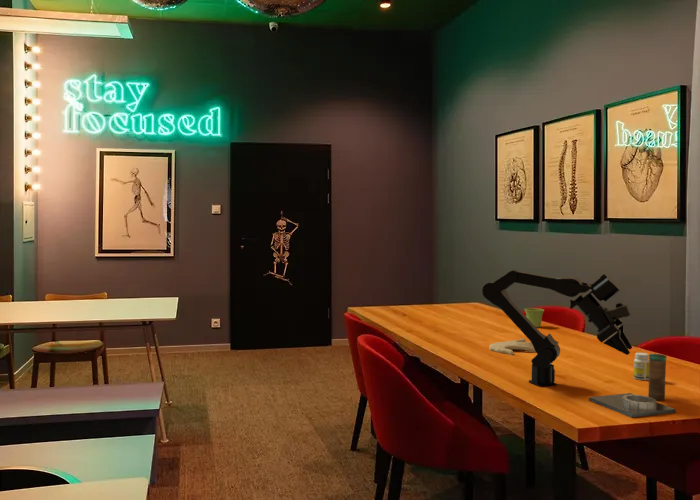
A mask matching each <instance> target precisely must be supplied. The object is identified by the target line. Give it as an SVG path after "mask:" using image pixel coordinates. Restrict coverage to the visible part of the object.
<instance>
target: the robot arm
mask: <svg viewBox="0 0 700 500" xmlns="http://www.w3.org/2000/svg"><path fill="white" fill-rule="evenodd" d="M515 283H516V284H521V285H527V286H531V287H538V288H541V289H542V288H543V289H546V290H547V289H548V290H551V291H553V292H556V293H559V294H560V295H562V296H566V297H568V298H569V297H570V298H572V299H570V300H569V301H570V302H569V303H570V305H569V308H570V310H571V309H573V308H575V307H576V306H577V308H578V309H579V310H580V311H581V312H582V313H583V315H584V316H585V317H586V318H587V319H588V320H587V321H588V322H589V323H590V324H592V325H593V326H594V327H595V328H596V329H597V333H596V339H597V340H598V341H599V342H600V343H601V344H602V343H603V344H604V345H606V346H609V347H610V348H612V349H615V350H616V351H618V352H621V353H622V354H624V355H626V356H628V355H630V354H631V352H630V350H632V349H633V346H632V344H631V342H630V340H629V338H628V336H627V335H626V333H625V332H624V330H625V323H624V321H623V320H622V318H627V317H630V316H631V315H632V314H631V311H630V308H629V306H628V304H623V302H618V303H615V307H613V308H611V309H608V308H607V307H606V306H603V305H602V304H601V303H600V302H602V301H604V302H607V301H609V300H610V299H611V298H612V297H614V296H616V295H617V293H619V292H620V291H621V288H620V287H619V285H618V284H617V283H616V282H615V281H614V280H612V279H611V277H610V276H608V275H607V274H606V273H604V274H602V275H601V276H600V277H599V278H598V279H596V281H594V282H593V283H589V282H583V281H581V279H579V278H578V277H573V276H572V277H571V276H562V277H560V276H557V277H556V276H555V277H554V276H549V275H548V276H547V275H542V274H536V273H533V272H532V273H531V272H526V271H521V270H518V269H512V270H509V271H507V273H506V274H504V275H503V276H501V277H499V279H496V280H495V281H490V282H488V283H485V284H484V286H482V291H481V294H482V296H483V297H484V298H485V299H486V300H487V301H488V302H490V303H491V304H492V305H494V306H495V307H497V308H498V309H500V310H502V312H503V313H504V314H505V315H506V316H507V318H509V319H510V321H512V323H513V324H514V325H515V326H516V328H517V329H519V330H520V331H521V332H522V334H524V336H525V337H526V338H527V339H528V340H529V342H531V343H532V345H533V347H534V349H535V351H536V353H535V354H536V355H535V356H534V357H533V358H532V359H531V379H529V380H528V382H529V383H530V384H532V385H533V384H534V385H535V386H538V387H547V386H549V387H551V386H557V383H556V382H555V381H556V377H555V376H556V375H555V374H556V370H555V365H554V364H552V363H554V362H555V360H557V359H558V358H559V356H560V354H561V348H560V345H559V341H557V340H556V339H554V337H553V335H552V334H551V333H548V334H547V335H545V334H543V333H542V332H541V331H540V330H539V329H538V327H537V328H536V327H535V326H534V325H533V324H532V323H531V322H530V320H529V319H528V318H527V317H526V314H524V313H523V311H521V310H520V308H519V307H518V306H516V304H515V303H514V302H513V301H512V300H511V297H510V295H509V293H508V292H507V290H506V289H508V288H509V287H511V286H512V285H513V284H515ZM589 290H591V291H590V292H588V291H589ZM587 292H588V293H587ZM583 293H587V294H586V295H584V294H583ZM580 294H581V295H580ZM578 295H579V296H578ZM576 296H577V298H575V299H573V298H574V297H576Z"/></svg>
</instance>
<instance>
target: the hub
mask: <svg viewBox="0 0 700 500" xmlns="http://www.w3.org/2000/svg"><path fill="white" fill-rule="evenodd" d="M588 397H589V398H588V400H589V402H592V403H595V404H597V405H599V406H601V407H604V408H606V409H609V410H611V411H614V412H617V413H619V414H622V415H623V416H626V417H629V418H632V419H634V418H640V417H649V416H658V415H669V414H675V413H677V412H676V410H677V409H676V408H674V407H671V406H668V405H665V404H663V403H659V402H658V401H656V400H655V399H654V398H651V397H648V396H647V395H642V394H634V393H631V392H630V393H618V394H616V393H615V394H610V395H609V394H608V395H598V396H588Z"/></svg>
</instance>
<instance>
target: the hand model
mask: <svg viewBox="0 0 700 500" xmlns="http://www.w3.org/2000/svg"><path fill="white" fill-rule="evenodd" d="M488 348H489V351H491V352H492V351H493V352H496V353H497V354H498V353H499V354H506V355H509V356H514V351H513V350H521V351H522V350H523V351H526V352H531V353H535V354H537V353H536V351H535V349H534V347H533V345H532V343H531V341H527V340H526V339H525V338H521V339H515V340H507V341H499V342H493V343H490V344H489V346H488Z"/></svg>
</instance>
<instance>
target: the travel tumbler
mask: <svg viewBox="0 0 700 500" xmlns="http://www.w3.org/2000/svg"><path fill="white" fill-rule="evenodd" d="M648 360H649V380H648V393H647V394H648V397H651V398H654V399H655V400H656V401H657V402H663V401H665V400H666V398H665V397H666V373H667V371H666V370H667V355H665V354H661V353H650V354H649V353H648Z"/></svg>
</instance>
